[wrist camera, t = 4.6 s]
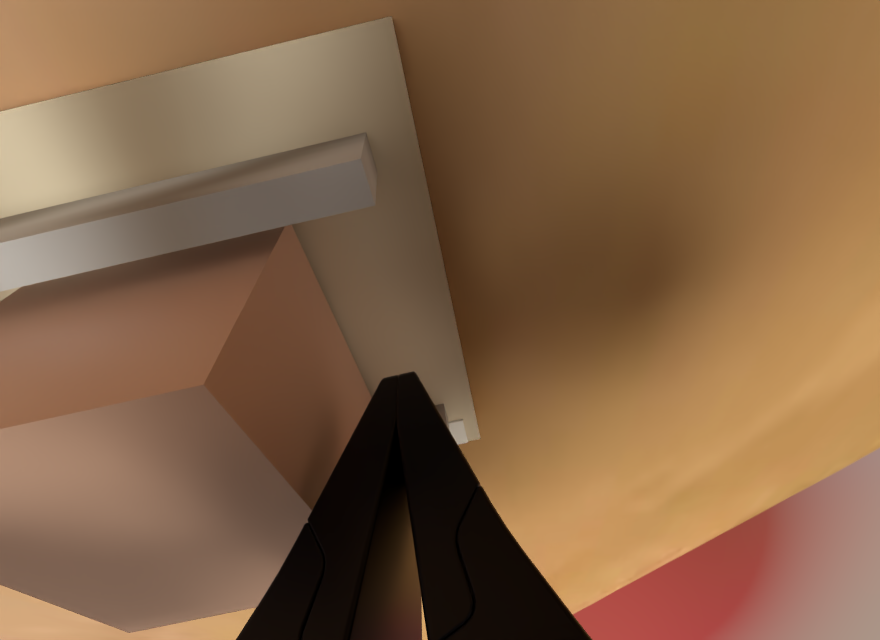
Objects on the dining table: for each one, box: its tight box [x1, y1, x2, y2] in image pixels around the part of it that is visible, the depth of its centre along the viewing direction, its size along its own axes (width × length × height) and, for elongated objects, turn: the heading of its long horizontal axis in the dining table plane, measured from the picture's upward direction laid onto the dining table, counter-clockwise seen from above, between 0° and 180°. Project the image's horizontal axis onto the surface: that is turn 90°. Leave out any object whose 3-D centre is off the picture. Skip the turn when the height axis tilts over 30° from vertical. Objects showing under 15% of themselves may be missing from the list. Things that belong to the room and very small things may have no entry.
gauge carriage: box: [0, 225, 372, 633], centre depth 9 cm, size 6×10×5 cm, turn 11°
